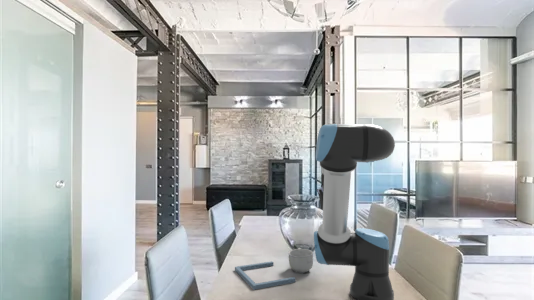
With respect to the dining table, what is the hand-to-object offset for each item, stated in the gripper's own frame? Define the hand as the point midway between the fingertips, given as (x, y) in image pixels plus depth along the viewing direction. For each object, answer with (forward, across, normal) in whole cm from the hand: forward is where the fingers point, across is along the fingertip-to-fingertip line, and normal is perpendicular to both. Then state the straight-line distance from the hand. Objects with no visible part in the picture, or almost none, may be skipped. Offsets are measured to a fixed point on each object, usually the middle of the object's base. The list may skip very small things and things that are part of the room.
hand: (329, 224), depth 148 cm
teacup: (+19, +15, 0) cm, 24 cm away
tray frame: (+18, +33, +1) cm, 38 cm away
